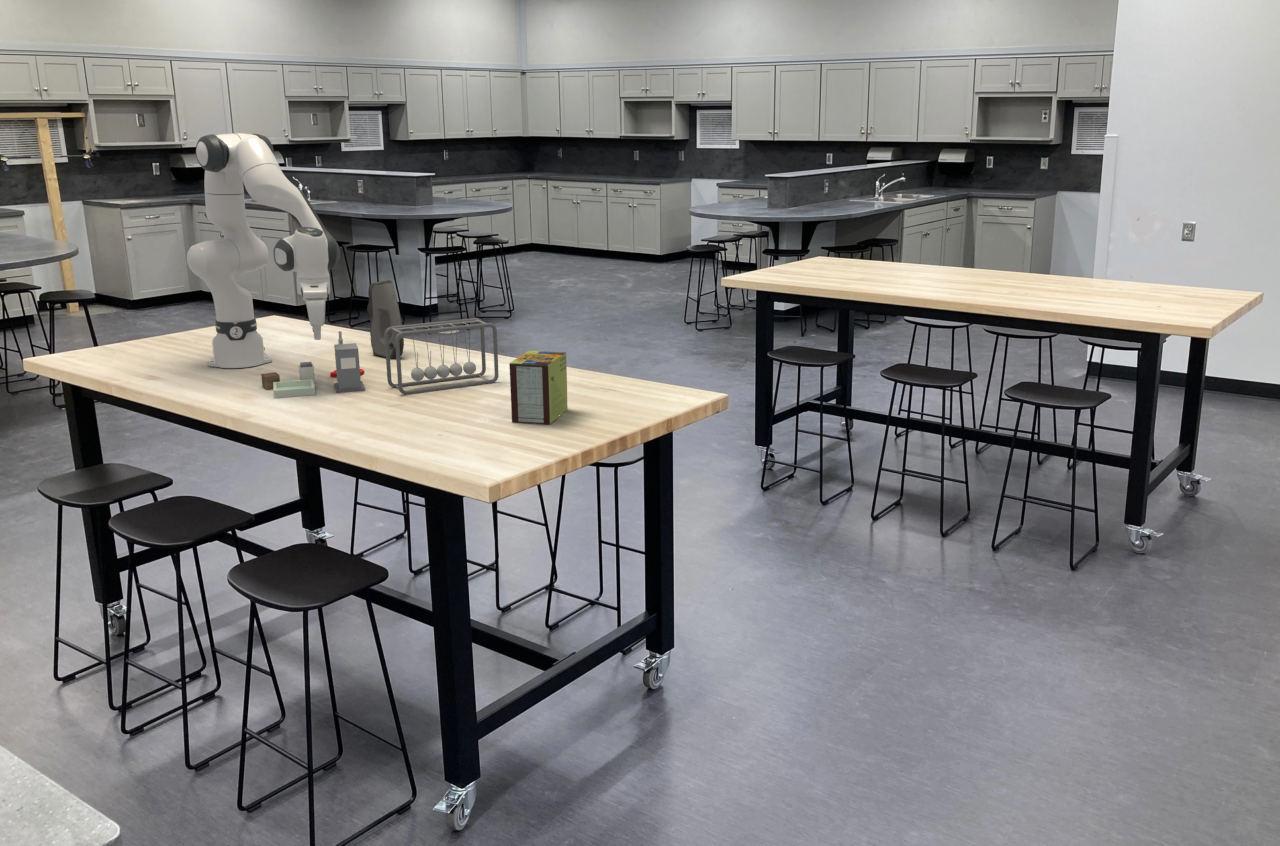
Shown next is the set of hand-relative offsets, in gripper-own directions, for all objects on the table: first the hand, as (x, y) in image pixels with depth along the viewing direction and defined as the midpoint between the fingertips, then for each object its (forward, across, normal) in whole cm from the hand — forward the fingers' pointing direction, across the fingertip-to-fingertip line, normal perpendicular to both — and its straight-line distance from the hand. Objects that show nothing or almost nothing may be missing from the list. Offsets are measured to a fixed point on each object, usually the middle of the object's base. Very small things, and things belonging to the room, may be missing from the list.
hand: (316, 335), depth 297 cm
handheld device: (+16, -36, +24) cm, 46 cm away
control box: (+15, +4, +8) cm, 17 cm away
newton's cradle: (+14, +10, +34) cm, 38 cm away
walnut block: (+16, -4, -13) cm, 21 cm away
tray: (+15, +4, -7) cm, 17 cm away
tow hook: (+16, -14, +9) cm, 23 cm away
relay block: (+15, -6, -3) cm, 17 cm away
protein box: (+13, +51, +52) cm, 74 cm away
